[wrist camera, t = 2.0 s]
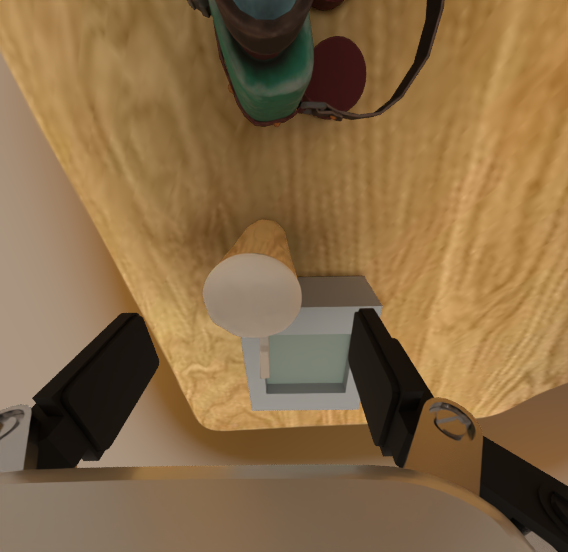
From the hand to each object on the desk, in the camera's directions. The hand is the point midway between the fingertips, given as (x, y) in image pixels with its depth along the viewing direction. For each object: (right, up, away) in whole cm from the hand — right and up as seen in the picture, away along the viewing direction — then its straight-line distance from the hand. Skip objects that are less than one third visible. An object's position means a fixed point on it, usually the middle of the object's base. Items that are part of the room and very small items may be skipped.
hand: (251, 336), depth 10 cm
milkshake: (0, +5, +8) cm, 9 cm away
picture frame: (+3, -3, +12) cm, 13 cm away
